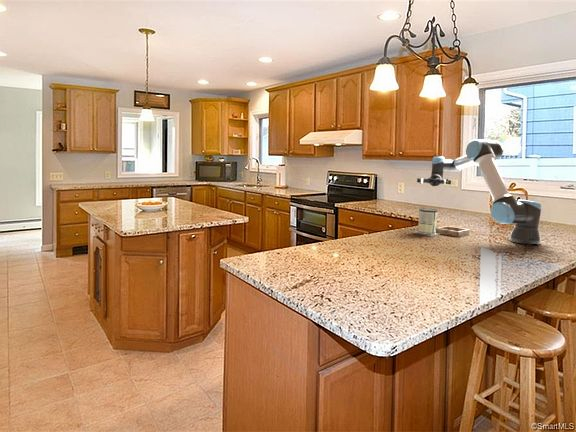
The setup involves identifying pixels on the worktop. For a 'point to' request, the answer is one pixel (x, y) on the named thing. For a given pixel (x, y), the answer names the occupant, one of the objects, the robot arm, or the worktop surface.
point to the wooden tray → (452, 231)
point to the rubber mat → (427, 234)
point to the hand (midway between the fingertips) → (432, 181)
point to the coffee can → (427, 221)
